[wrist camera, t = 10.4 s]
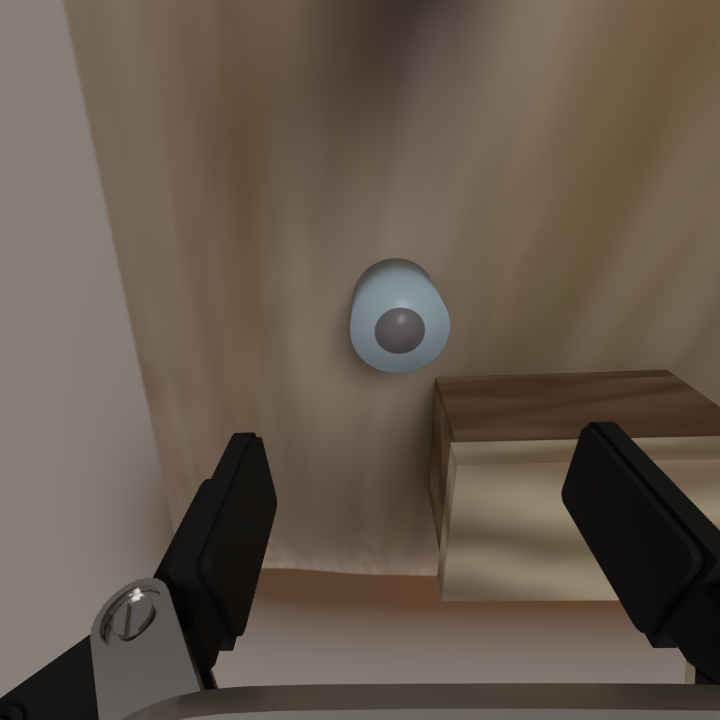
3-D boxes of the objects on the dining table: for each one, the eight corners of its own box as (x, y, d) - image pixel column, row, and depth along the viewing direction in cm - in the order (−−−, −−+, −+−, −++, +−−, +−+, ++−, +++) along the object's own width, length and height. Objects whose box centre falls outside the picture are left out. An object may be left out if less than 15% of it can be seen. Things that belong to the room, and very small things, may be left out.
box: (436, 377, 25) (457, 446, 19) (667, 370, 25) (765, 439, 18) (428, 491, 31) (443, 572, 25) (614, 488, 30) (676, 570, 24)
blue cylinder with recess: (350, 260, 21) (346, 285, 17) (437, 256, 21) (454, 280, 17) (355, 337, 24) (353, 375, 20) (432, 334, 24) (446, 372, 19)
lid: (450, 442, 19) (464, 489, 16) (779, 434, 18) (850, 482, 15) (437, 576, 25) (445, 626, 22) (680, 574, 24) (719, 626, 22)
